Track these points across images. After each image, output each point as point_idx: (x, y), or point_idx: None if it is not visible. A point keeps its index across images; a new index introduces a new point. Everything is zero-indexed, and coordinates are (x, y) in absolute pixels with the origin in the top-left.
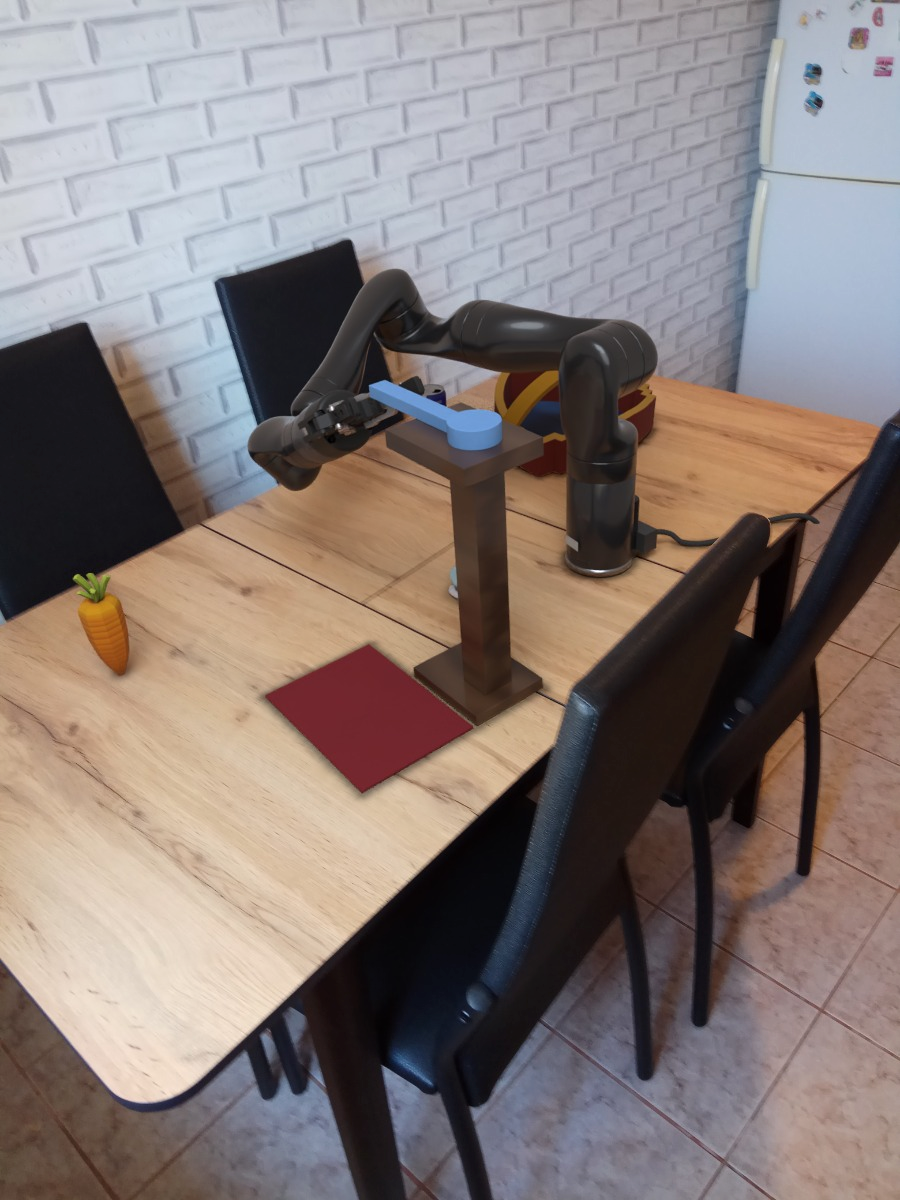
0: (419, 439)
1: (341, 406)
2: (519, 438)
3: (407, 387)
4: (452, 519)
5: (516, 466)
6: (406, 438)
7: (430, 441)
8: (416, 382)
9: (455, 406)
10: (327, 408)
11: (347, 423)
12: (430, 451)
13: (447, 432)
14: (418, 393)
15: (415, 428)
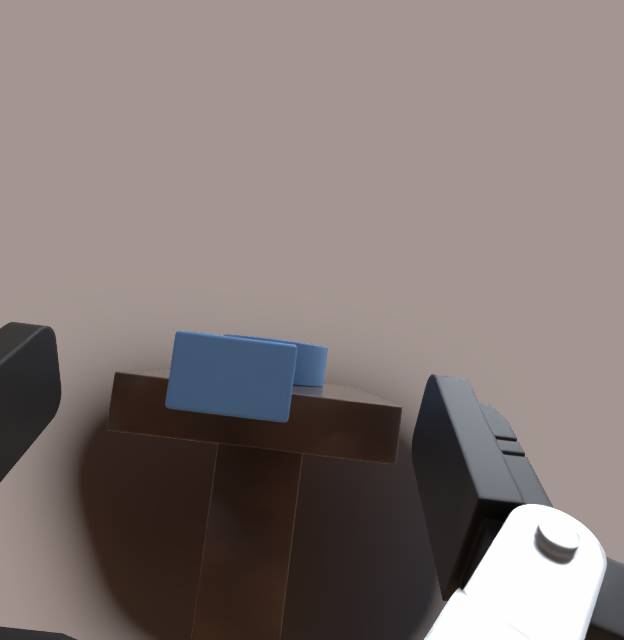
0: (355, 394)
1: (503, 422)
2: None
3: (3, 404)
4: (286, 584)
5: None
6: (377, 398)
7: (342, 391)
8: (54, 348)
9: (152, 375)
10: (595, 539)
11: (446, 599)
12: (366, 392)
13: (321, 364)
14: (56, 403)
15: (330, 394)
